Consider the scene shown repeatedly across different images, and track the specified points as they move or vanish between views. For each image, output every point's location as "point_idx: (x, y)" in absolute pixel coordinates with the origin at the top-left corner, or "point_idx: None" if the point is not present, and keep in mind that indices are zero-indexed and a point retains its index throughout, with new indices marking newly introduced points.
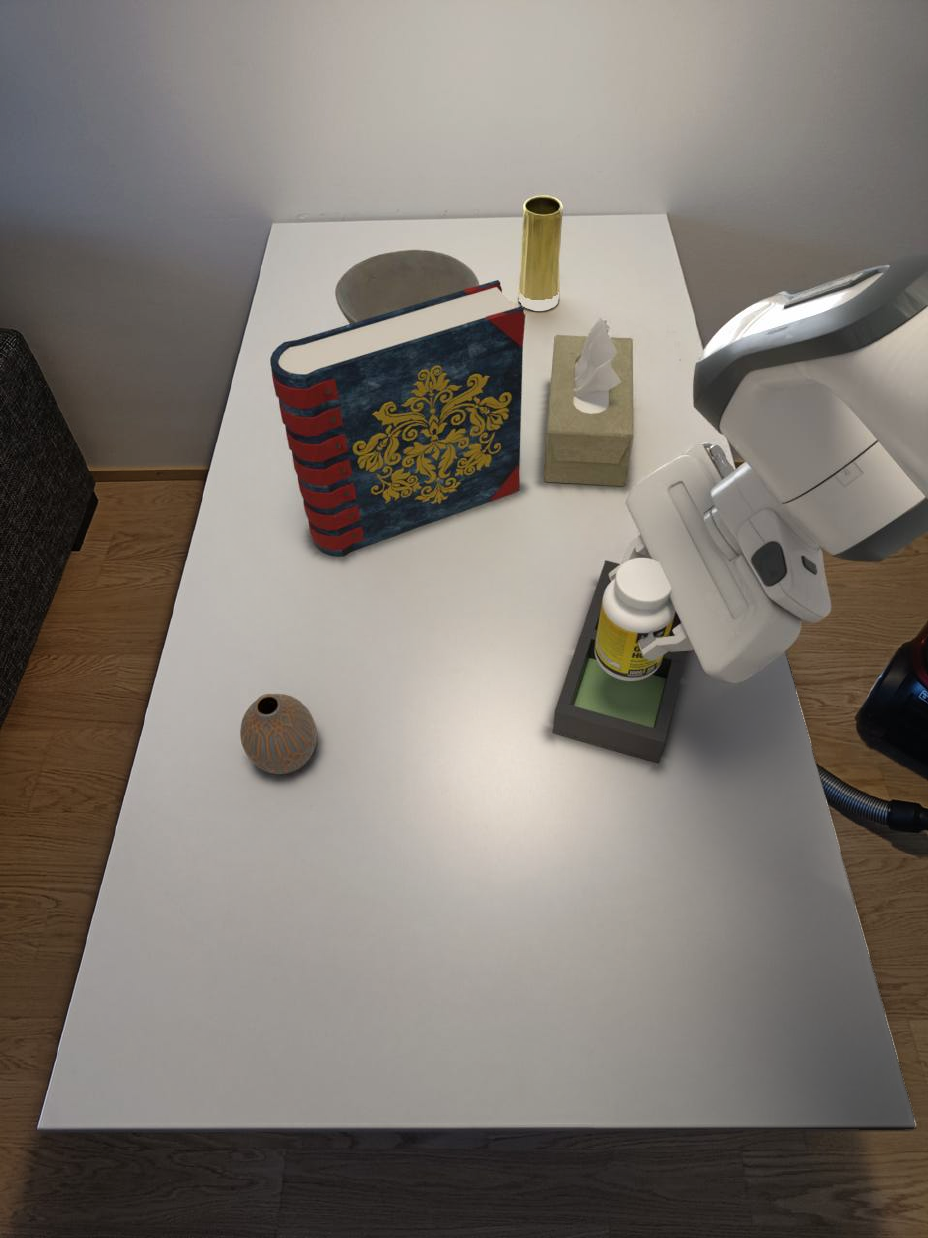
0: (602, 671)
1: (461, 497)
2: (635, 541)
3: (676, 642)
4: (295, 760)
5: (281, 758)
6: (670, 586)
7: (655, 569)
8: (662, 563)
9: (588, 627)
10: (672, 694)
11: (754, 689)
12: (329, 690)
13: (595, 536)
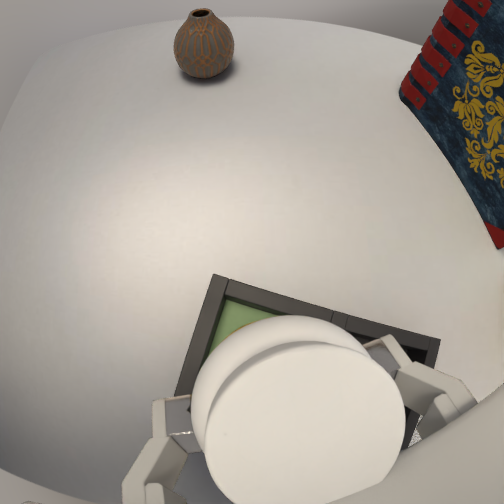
0: None
1: (480, 188)
2: (461, 391)
3: (125, 481)
4: (177, 58)
5: (174, 46)
6: None
7: (353, 474)
8: (372, 493)
9: (347, 321)
10: None
11: None
12: (264, 86)
13: (466, 328)
